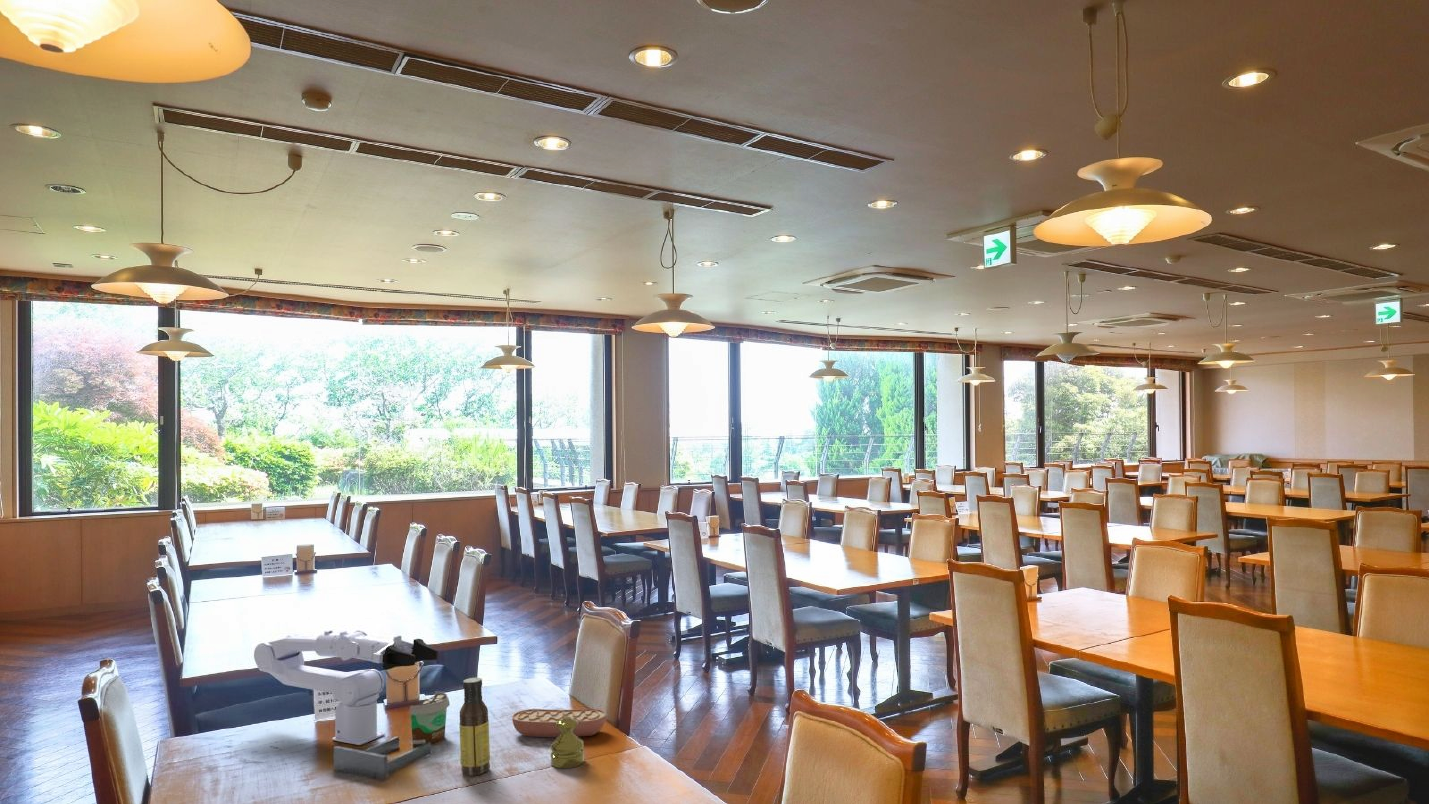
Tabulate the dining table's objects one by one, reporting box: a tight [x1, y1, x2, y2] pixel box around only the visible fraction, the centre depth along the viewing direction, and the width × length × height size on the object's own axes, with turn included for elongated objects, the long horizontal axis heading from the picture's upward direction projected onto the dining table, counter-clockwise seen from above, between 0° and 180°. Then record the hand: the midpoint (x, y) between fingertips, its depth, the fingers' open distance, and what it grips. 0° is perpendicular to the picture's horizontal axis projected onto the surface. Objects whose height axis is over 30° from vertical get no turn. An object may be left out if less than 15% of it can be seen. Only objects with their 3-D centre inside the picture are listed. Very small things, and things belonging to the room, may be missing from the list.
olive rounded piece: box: [550, 716, 585, 769], centre depth 191 cm, size 7×7×10 cm
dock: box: [333, 736, 432, 782], centre depth 192 cm, size 15×16×5 cm
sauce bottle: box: [458, 677, 491, 777], centre depth 187 cm, size 6×6×20 cm
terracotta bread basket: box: [511, 708, 607, 738], centre depth 208 cm, size 23×10×5 cm, turn 88°
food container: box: [408, 691, 450, 748], centre depth 206 cm, size 12×6×10 cm, turn 168°
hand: (425, 657), depth 202 cm, fingers open, 7 cm apart
